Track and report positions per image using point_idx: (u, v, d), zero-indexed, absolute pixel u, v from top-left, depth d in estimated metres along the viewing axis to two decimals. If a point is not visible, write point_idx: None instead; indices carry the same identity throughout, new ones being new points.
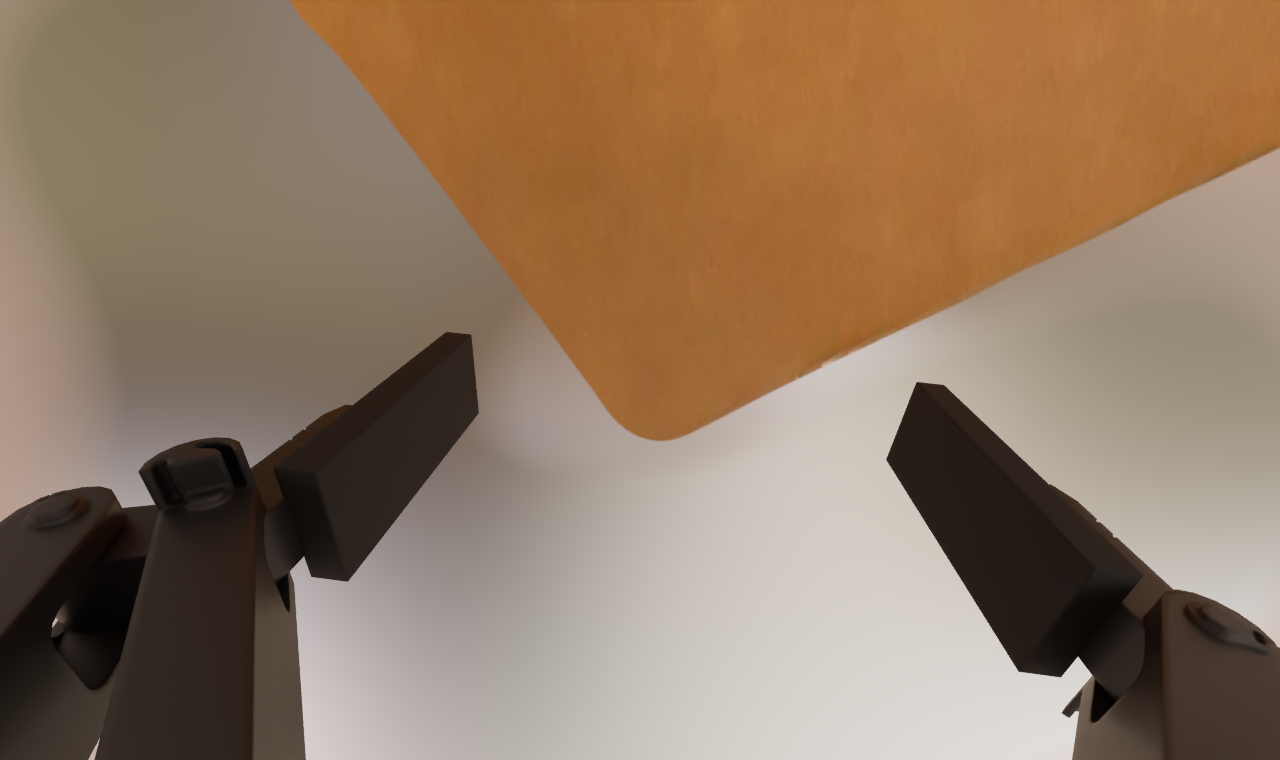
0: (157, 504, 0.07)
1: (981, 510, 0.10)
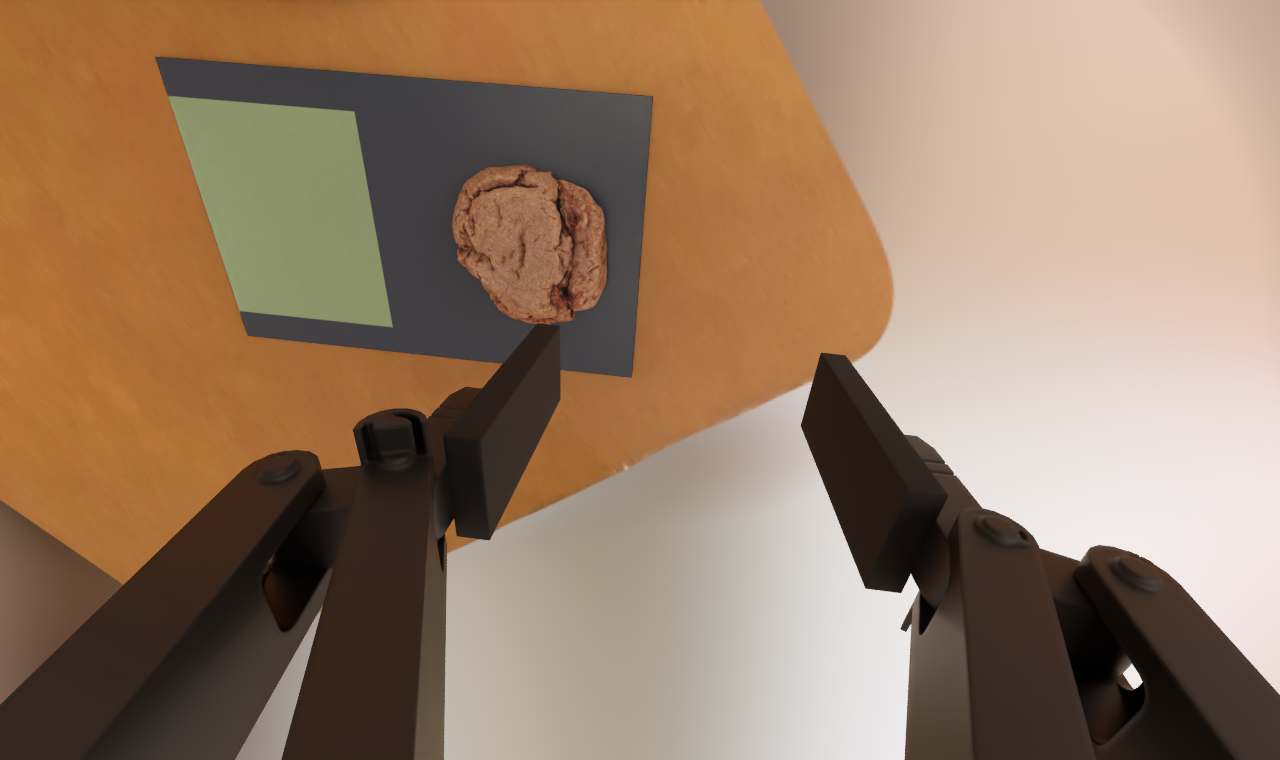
0: (360, 459, 0.09)
1: (851, 457, 0.11)
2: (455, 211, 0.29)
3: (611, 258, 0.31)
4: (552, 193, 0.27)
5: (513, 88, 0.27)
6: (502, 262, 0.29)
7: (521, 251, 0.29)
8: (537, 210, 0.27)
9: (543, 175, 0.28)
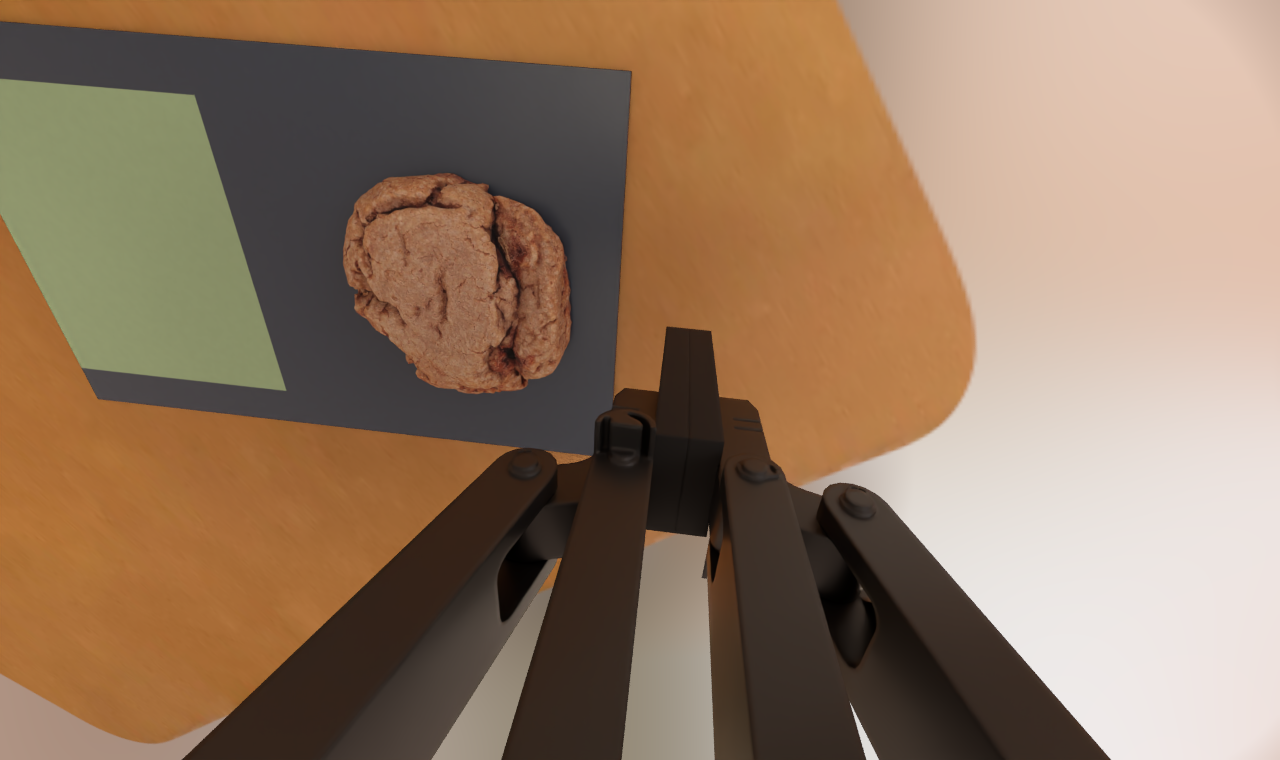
0: (594, 448, 0.09)
1: None
2: (345, 241, 0.20)
3: (577, 304, 0.22)
4: (483, 217, 0.18)
5: (422, 60, 0.18)
6: (416, 314, 0.20)
7: (442, 300, 0.20)
8: (461, 243, 0.18)
9: (469, 190, 0.19)
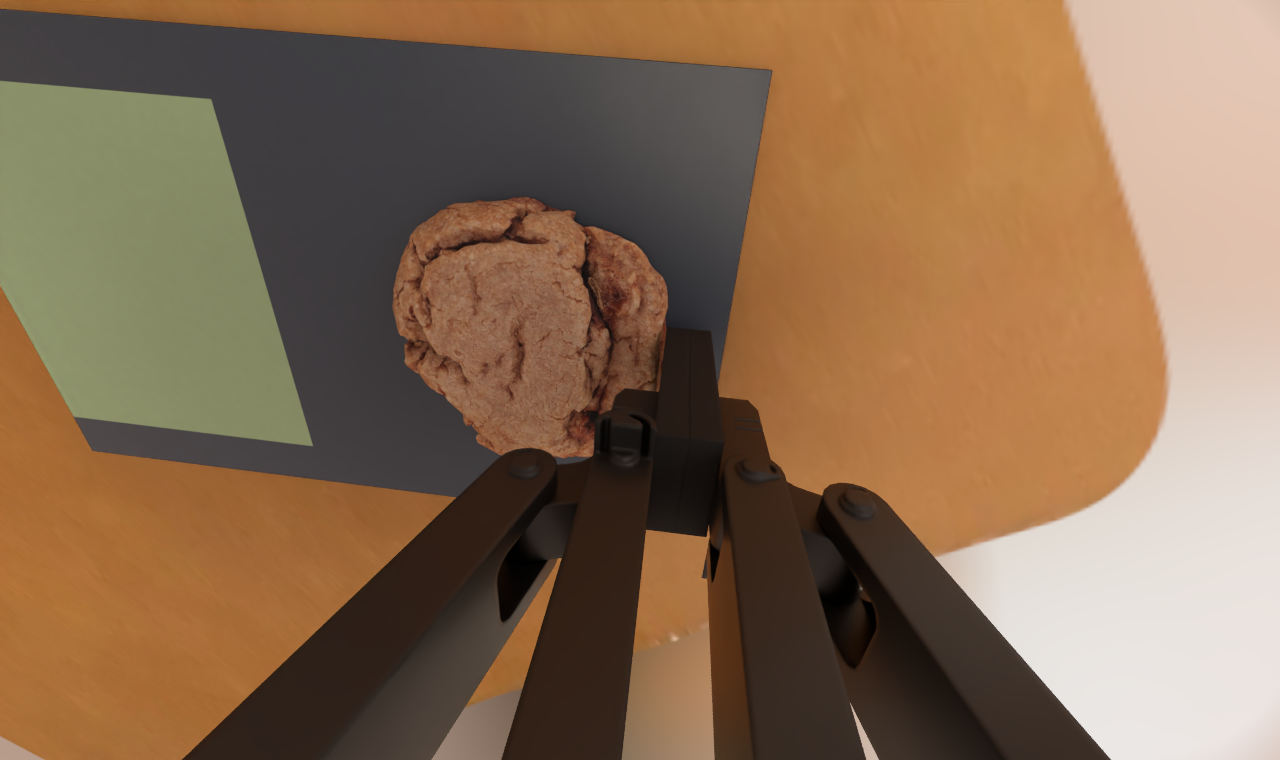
0: (594, 448, 0.09)
1: None
2: (396, 282, 0.16)
3: None
4: (575, 255, 0.15)
5: (502, 55, 0.14)
6: (482, 372, 0.16)
7: (516, 355, 0.16)
8: (547, 288, 0.14)
9: (557, 219, 0.15)
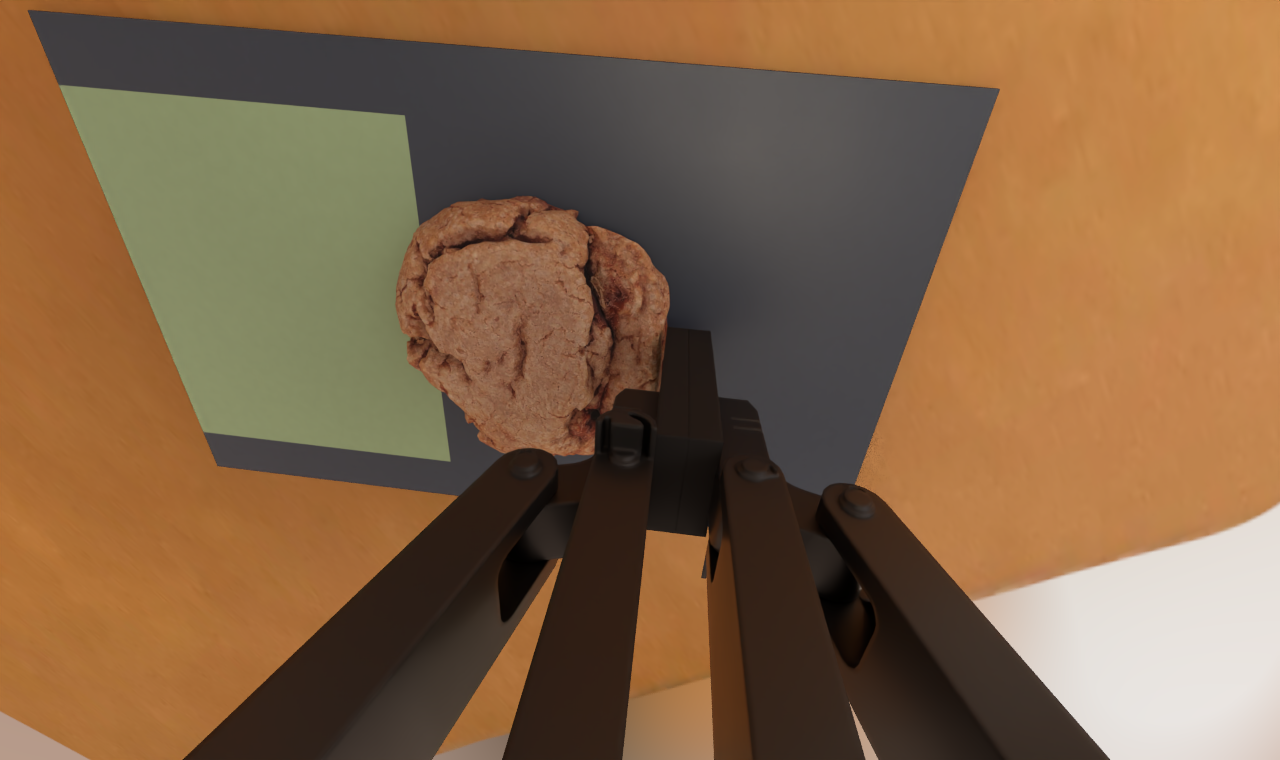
0: (595, 448, 0.09)
1: None
2: (399, 280, 0.16)
3: (843, 371, 0.18)
4: (577, 254, 0.15)
5: (719, 73, 0.14)
6: (485, 370, 0.16)
7: (519, 353, 0.16)
8: (551, 286, 0.15)
9: (560, 219, 0.15)
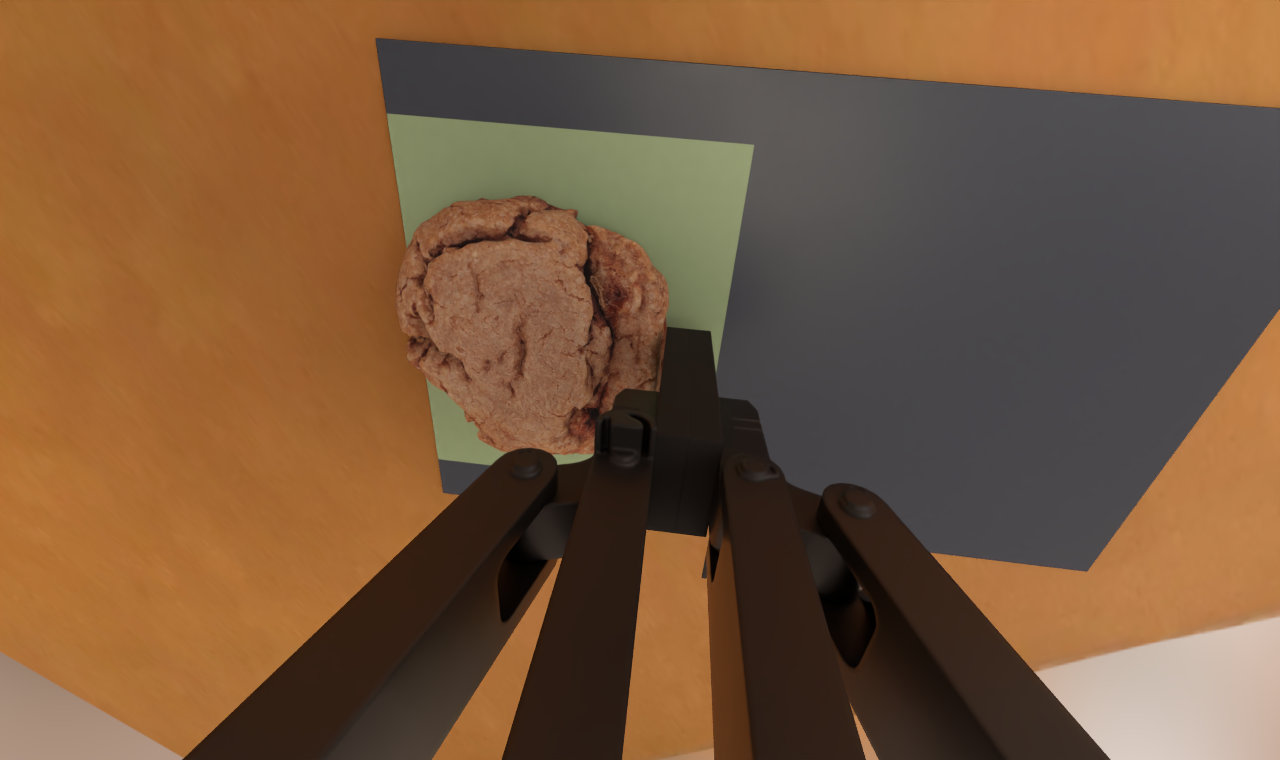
0: (594, 448, 0.09)
1: None
2: (400, 279, 0.16)
3: (1152, 402, 0.17)
4: (577, 253, 0.15)
5: (1113, 102, 0.13)
6: (484, 369, 0.16)
7: (518, 352, 0.16)
8: (550, 286, 0.15)
9: (560, 218, 0.15)
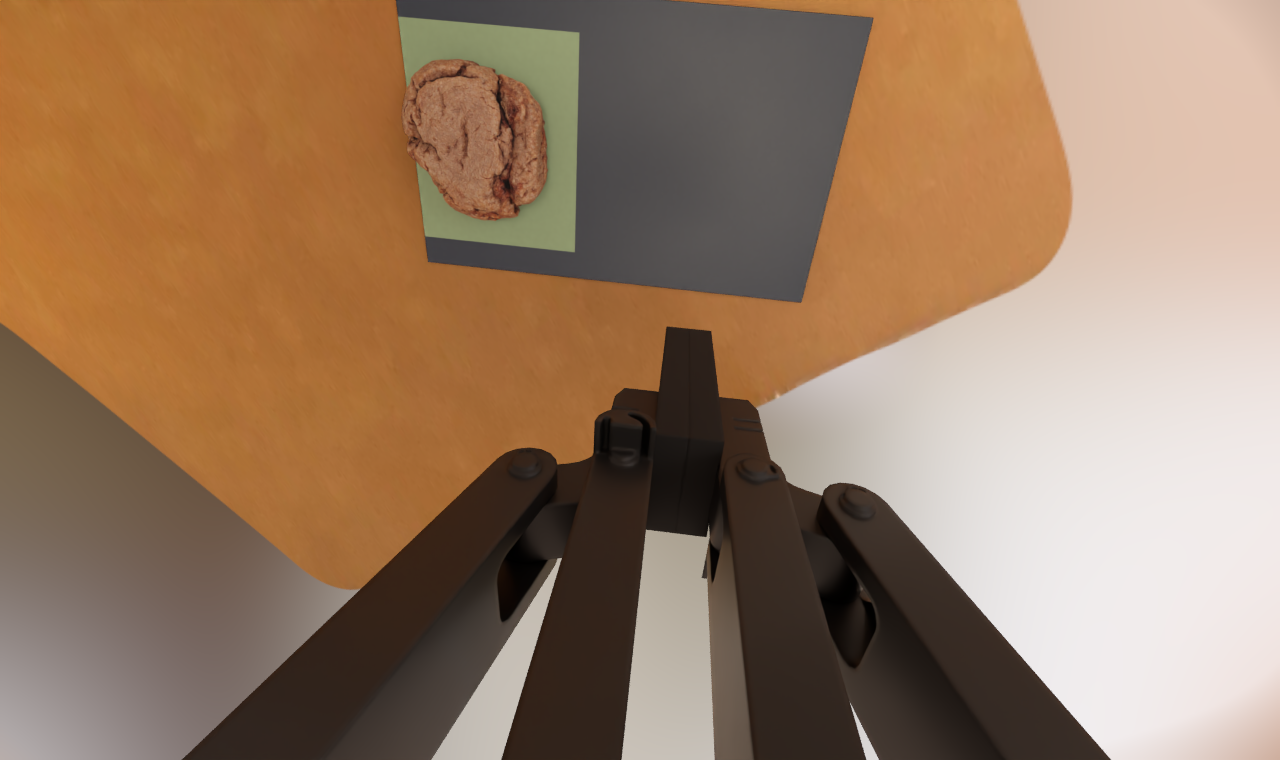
0: (594, 448, 0.09)
1: None
2: (404, 102, 0.31)
3: (803, 181, 0.33)
4: (491, 84, 0.30)
5: (739, 10, 0.29)
6: (447, 152, 0.31)
7: (464, 141, 0.31)
8: (478, 100, 0.30)
9: (483, 68, 0.30)
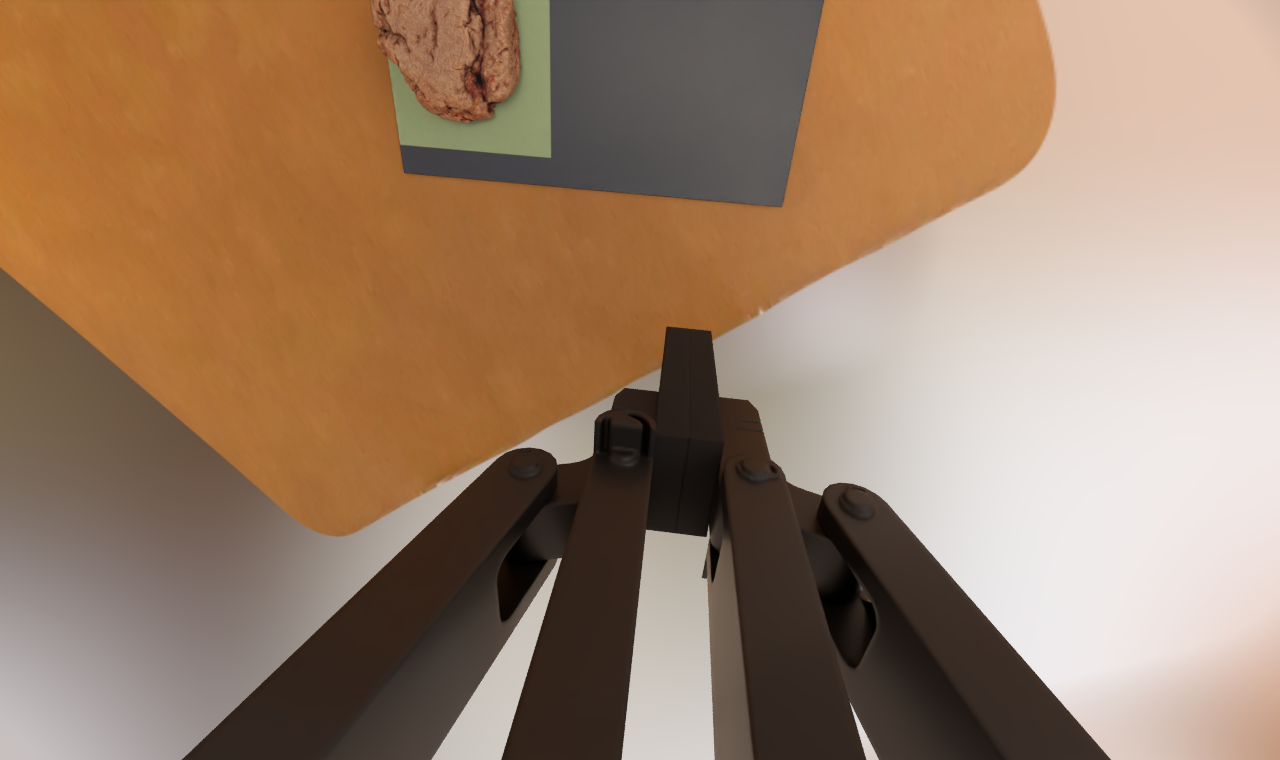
0: (594, 448, 0.09)
1: None
2: None
3: (780, 71, 0.32)
4: None
5: None
6: (417, 42, 0.31)
7: (434, 30, 0.31)
8: None
9: None
